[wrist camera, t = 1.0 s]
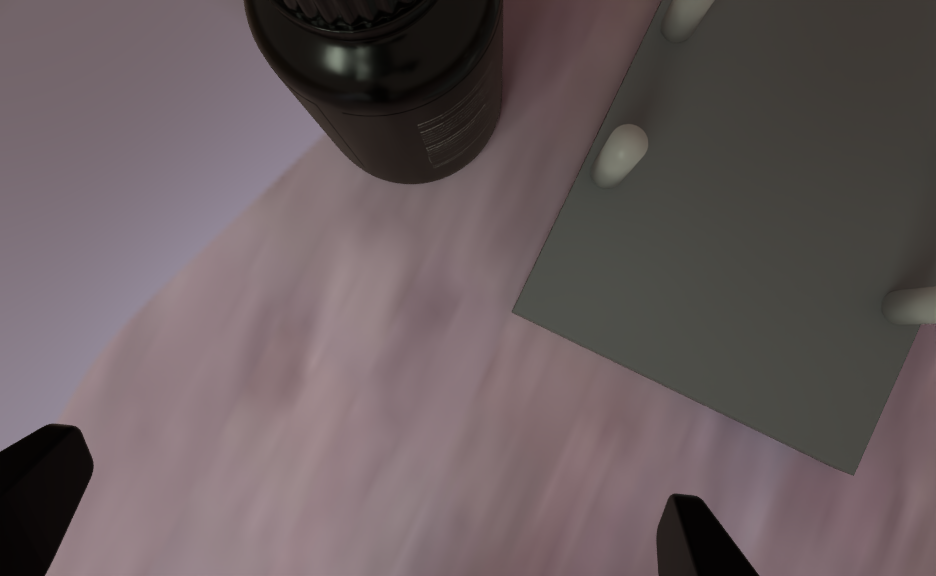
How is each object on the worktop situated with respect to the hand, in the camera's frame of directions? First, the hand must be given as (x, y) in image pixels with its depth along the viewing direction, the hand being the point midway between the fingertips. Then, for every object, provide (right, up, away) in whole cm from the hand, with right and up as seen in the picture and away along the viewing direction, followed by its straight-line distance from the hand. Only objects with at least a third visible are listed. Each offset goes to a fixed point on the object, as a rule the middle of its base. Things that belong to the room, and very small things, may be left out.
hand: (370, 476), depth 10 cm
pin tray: (+13, +7, +14) cm, 21 cm away
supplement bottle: (-1, +10, +15) cm, 18 cm away
